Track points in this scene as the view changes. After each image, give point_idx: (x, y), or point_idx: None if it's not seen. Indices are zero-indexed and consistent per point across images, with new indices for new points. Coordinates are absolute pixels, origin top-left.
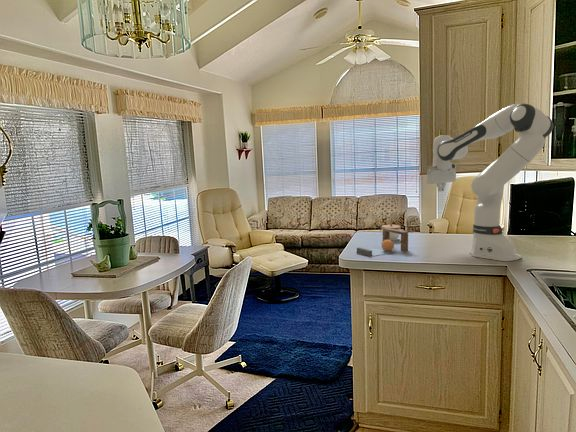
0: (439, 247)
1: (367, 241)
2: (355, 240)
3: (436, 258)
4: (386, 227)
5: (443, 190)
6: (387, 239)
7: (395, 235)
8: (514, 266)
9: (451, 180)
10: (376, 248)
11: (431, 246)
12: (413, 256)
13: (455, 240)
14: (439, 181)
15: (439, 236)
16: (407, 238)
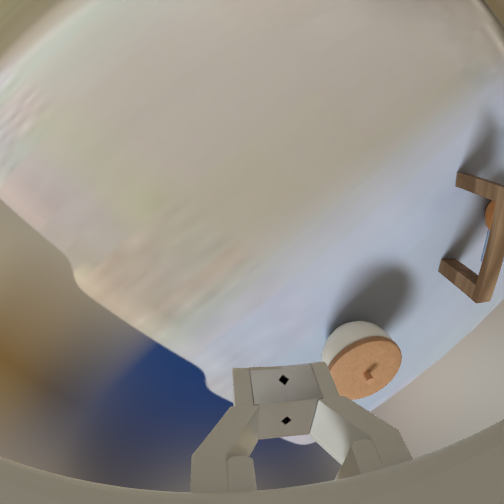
0: (344, 116)
1: (416, 348)
2: (420, 372)
3: (469, 45)
4: (400, 360)
5: (253, 370)
6: (462, 269)
7: (370, 323)
8: None
9: (10, 488)
10: (483, 256)
11: (352, 152)
12: (493, 112)
13: (155, 166)
14: (485, 459)
15: (143, 273)
16: (488, 182)
